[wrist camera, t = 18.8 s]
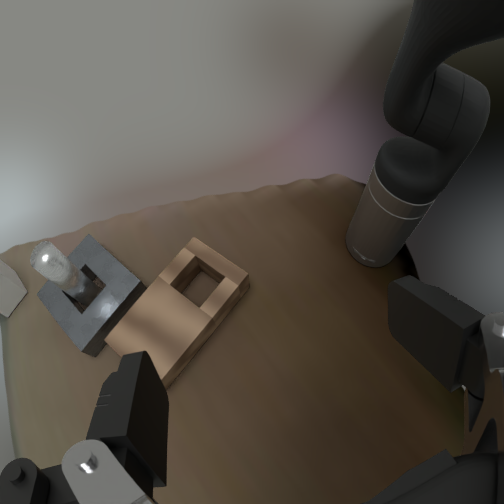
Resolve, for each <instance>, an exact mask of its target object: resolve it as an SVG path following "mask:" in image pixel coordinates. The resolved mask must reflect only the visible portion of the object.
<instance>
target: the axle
mask: <svg viewBox="0 0 504 504" xmlns="http://www.w3.org/2000/svg"><path fill="white" fill-rule="evenodd" d="M31 265H32V267H33V268H34V269H36V270H37V271H38V272H39V273H41V274H42V275H43V276H45V277H46V278H47V279H48V280H50V281H51V282H52V283H54V284H55V285H56V286H58V287H59V288H60V289H62V290H63V291H64V292H66V293H67V294H69V295H70V296H71V297H73V298H74V299H76V300H77V301H78V302H80V303H81V304H83V305H84V306H86V307H87V308H88V306H89V305H90V304H91V303H92V302H93V300H94V299H95V298H96V297H97V296H98V295H99V293H100V292H101V291H102V289H101V288H100V287H98V286H97V285H96V284H95V283H94V282H93V281H92V280H91V279H89V278H88V277H87V276H86V275H85V274H84V273H83V272H82V271H80V270H79V269H78V268H77V267H76V266H75V265H74V264H73V263H72V262H71V261H70V260H69V259H67V258H66V257H65V256H64V255H63V254H62V253H61V252H60V251H59V250H58V249H57V248H56V247H55V246H54V245H53V244H52V243H51V242H49V241H43V242H41V243H39V244H38V245H37V246H36V247H35V248H34V250H33V252H32V254H31Z"/></svg>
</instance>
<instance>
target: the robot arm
mask: <svg viewBox="0 0 504 504" xmlns="http://www.w3.org/2000/svg"><path fill="white" fill-rule="evenodd" d="M501 38H504V0H414V3H413V8H412V12H411V15H410V19H409V22H408V25H407V28H406V31H405V34H404V37H403V39H402V42H401V45H400V48H399V51H398V54H397V56H396V59H395V62H394V64H393V67H392V70H391V73H390V75H389V79H388V82H387V85H386V89H385V94H384V101H383V111H384V116H385V119H386V121H387V122H388V124H389V125H390V126H391V127H393V128H394V129H396V130H397V131H399V132H401V133H403V134H405V135H407V136H409V137H396V138H392V139H390V140H388V141H386V142H385V143H384V144H383V145H382V146H381V148H380V150H379V152H378V155H377V158H376V160H375V163H374V166H373V168H372V171H371V174H370V176H369V179H368V182H367V184H366V187H365V189H364V192H363V194H362V197H361V199H360V202H359V204H358V207H357V209H356V211H355V214H354V216H353V218H352V221H351V223H350V226H349V228H348V230H347V233H346V245H347V248H348V250H349V252H350V254H351V255H352V256H353V257H354V258H355V259H356V260H357V261H358V262H360V263H361V264H363V265H366V266H369V267H382V266H384V265H386V264H388V263H389V262H390V261H391V260H392V259H393V258H394V257H395V255H396V254H397V253H398V251H399V250H400V249H401V247H402V246H403V245H404V243H405V242H406V241H407V239H408V238H409V237H410V235H411V234H412V232H413V231H414V230H415V228H416V227H417V226H418V224H419V223H420V221H421V220H422V218H423V217H424V216H425V214H426V212H427V211H428V210H429V208H430V207H431V205H432V204H433V202H434V201H435V199H436V198H437V196H438V195H439V193H441V192H442V191H443V190H444V189H445V188H446V186H447V185H448V183H449V182H450V181H451V179H452V178H453V176H454V175H455V173H456V172H457V171H458V169H459V168H460V166H461V165H462V164H463V162H464V161H465V160H466V158H467V157H468V155H469V154H470V153H471V151H472V150H473V148H474V147H475V145H476V143H477V142H478V140H479V138H480V136H481V134H482V132H483V130H484V128H485V126H486V123H487V120H488V116H489V111H490V97H489V93H488V91H487V89H486V87H485V86H484V85H483V84H482V83H480V82H479V81H477V80H476V79H474V78H472V77H470V76H469V75H467V74H465V73H463V72H461V71H459V70H457V69H455V68H452V67H450V66H449V65H446V64H444V63H442V62H443V61H445V60H446V59H447V58H448V57H450V56H451V55H453V54H455V53H457V52H459V51H461V50H463V49H466V48H469V47H472V46H475V45H479V44H482V43H486V42H490V41H494V40H497V39H501ZM388 324H389V329H390V332H391V334H392V336H393V337H394V338H395V339H396V340H397V341H398V342H399V343H400V344H401V345H402V346H403V347H404V348H405V349H406V350H407V351H408V352H409V353H410V354H411V355H412V356H413V357H415V358H416V359H417V360H418V361H419V362H420V363H421V364H422V365H423V366H424V367H425V368H426V369H427V370H428V371H429V372H430V373H431V374H432V375H433V376H434V377H435V378H436V379H437V380H438V381H439V382H440V383H441V384H442V385H443V386H444V387H445V388H446V389H447V390H448V391H449V392H450V393H451V392H452V391H454V390H455V389H457V388H459V387H460V386H462V385H464V386H465V387H466V390H465V393H464V409H465V434H464V446H463V450H462V453H461V456H457V457H452V456H451V455H450V454H449V452H448V451H447V450H446V449H445V450H443V451H442V452H440V453H438V454H437V455H435V456H433V457H432V458H430V459H428V460H426V461H425V462H423V463H421V464H419V465H418V466H416V467H414V468H412V469H410V470H408V471H407V472H406V473H404V474H403V475H402V476H401V477H400V478H398V479H397V480H396V481H395V482H393V483H392V484H391V485H390V486H388V487H387V488H386V489H384V490H383V491H382V492H380V493H379V494H378V495H376V496H375V497H374V498H372V499H371V500H369V501H367V502H365V503H362V504H504V312H496V313H491V314H488V315H487V316H485V315H483V314H481V313H480V312H478V311H477V310H475V309H473V308H472V307H470V306H469V305H467V304H465V303H463V302H462V301H460V300H457V298H455V297H454V296H452V295H449V293H447V292H445V291H444V290H442V289H440V288H439V287H435V286H431V285H427V284H424V283H423V282H421V281H419V280H418V279H416V278H414V277H413V276H410V275H408V276H405V277H403V278H400V279H397V280H394V281H392V282H390V283H389V285H388ZM99 396H100V397H99V398H98V401H97V404H96V405H97V407H95V410H94V413H93V417H92V420H91V423H90V427H89V430H88V433H87V437H86V440H84V441H81V442H79V443H77V444H75V445H73V446H72V447H71V448H70V449H69V450H68V451H67V452H66V454H65V455H64V457H63V460H62V464H60V465H57V466H53V467H49V468H45V469H41V470H40V469H39V468H38V467H37V466H36V465H35V464H34V463H33V462H32V461H31V460H29V459H27V458H19V459H15V460H13V461H11V462H10V463H9V464H8V465H7V466H6V467H5V468H4V469H3V471H2V473H1V475H0V504H158V503H157V502H156V500H155V499H154V498H153V487H164V486H166V479H167V436H168V413H169V401H168V395H167V392H166V389H165V387H164V385H163V383H162V381H161V379H160V376H159V374H158V372H157V370H156V368H155V366H154V364H153V362H152V359H151V357H150V355H149V354H148V352H147V351H140V352H135V353H130V354H125V355H123V356H122V359H121V362H120V365H119V368H118V371H117V372H113V373H111V375H110V376H109V377H108V378H107V379H106V381H105V382H104V383H103V385H102V388H101V391H100V394H99Z"/></svg>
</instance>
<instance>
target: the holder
mask: <svg viewBox="0 0 504 504" xmlns="http://www.w3.org/2000/svg"><path fill="white" fill-rule="evenodd" d="M67 259H69V260H70V261H71V262H72V263H73V264H74V265H75V266H76V267H77V268H78V269H79V270H80V271H82V272H83V273H84V274H85V275H86V276H87V277H88V278H89V279H91V280H92V281H93V280H94V278H95V277H96V276H98V277H99V278H100V279H101V280H102V281H103V282H104V283H105V284H106V286H105V288H104V289H103V290H102V291H101V292H100V293H99V295H98V296H97V297H96V298H95V299H94V300H93V302H92V303H91V304H90V305H89V306H88V308H87V309H86V310H85V311H84V310H83V309H82V308H81V306H80V305H79V304H78V303H77V302H76V299H74V298H73V297H71V296H70V295H69V294H67V293H66V292H64V291H63V290H62V289H60V288H59V287H58V286H56V285H55V284H54V283H52V282H51V281H50V280H48V281H47V282H46V283H45V285H44V286H43V287H42V288H41V290H40V291H39V292H38V293H37V295H38V297H39V298H40V300H41V301H42V302H43V304H44V305H45V306H46V308H47V309H48V311H49V312H50V313H51V315H52V316H53V317H54V319H55V320H56V321H57V322H58V324H59V325H60V326H61V328H62V329H63V330H64V331H65V333H66V334H67V335H68V336H69V338H70V339H71V340H72V341H73V342H74V344H75V345H76V346H77V347H78V348H79V350H80V351H81V352H84V353H86V354H89V355H91V356H94V357H96V356H97V355H98V353H99V352H100V351H101V350H102V349H103V347H104V346H105V345H106V344H107V342H106V341H105V340H104V339H105V338H106V337H107V336H108V335H109V333H110V332H111V331H112V330H113V328H114V327H115V326H116V325H117V324H118V323H119V321H120V320H121V319H122V318H123V317H124V315H125V314H126V313H127V312H128V311H129V309H130V308H131V307H132V306H133V305H134V304H135V302H136V301H137V300H138V299H139V298H140V297H141V295H142V294H143V293H144V292H145V291H146V290H147V288H146V287H145V285H144V284H143V283H142V282H141V281H140V280H139V279H138V278H137V277H136V276H134V275H133V274H132V273H131V272H130V271H129V270H128V269H127V268H125V267H124V266H123V265H122V264H121V263H120V262H119V261H118V260H117V259H115V258H114V257H113V256H112V255H111V254H110V253H109V252H108V251H107V250H106V249H105V248H103V247H102V246H101V245H100V244H99V243H98V242H97V241H96V240H95V239H94V238H93V237H92V236H91V235H90V234H88V235H87V236H86V237H85V238H84V239H83V241H82V242H81V243H80V244H79V245H78V246H77V247H76V248H75V249H74V250H73V252H72V253H71V254H70V255H69V256H68V257H67Z"/></svg>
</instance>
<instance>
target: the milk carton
mask: <svg viewBox="0 0 504 504" xmlns="http://www.w3.org/2000/svg"><path fill="white" fill-rule="evenodd" d="M26 293H27V290H26V288H25V287H24V285H23V283H22V282H21V280H20V278H19V277H18V275H17V273H16V272H15V271H14V270H13V269H12V268H10V267H9V266H8V265H7V264H5V263H4V262H3V261H1V260H0V314H2V315H4V316H6V317H9V316H10V314H11V313H12V312H13V310H14V309H15V308H16V306H17V305H18V304H19V302H20V301H21V300H22V299H23V297H24V296H25V295H26Z"/></svg>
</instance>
